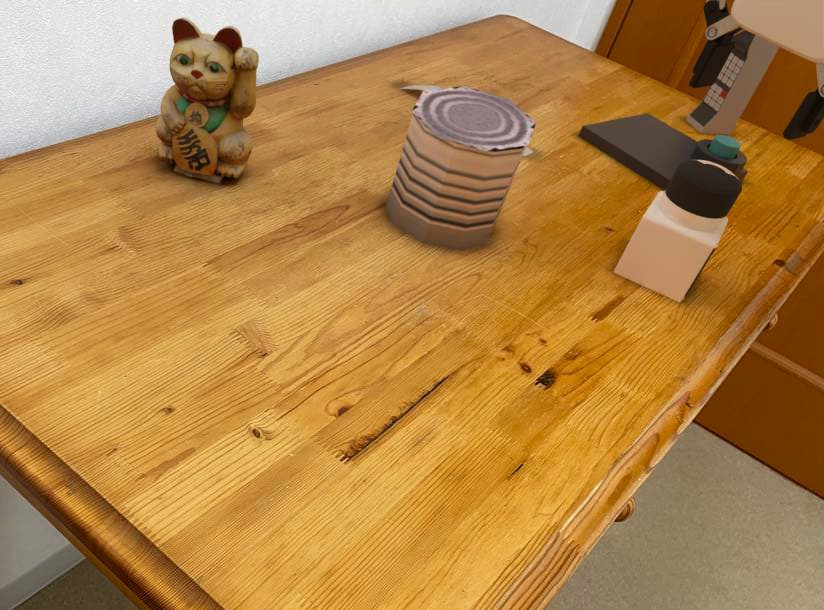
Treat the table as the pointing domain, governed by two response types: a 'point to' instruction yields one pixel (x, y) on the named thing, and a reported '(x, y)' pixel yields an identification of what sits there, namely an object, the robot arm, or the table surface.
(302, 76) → the table surface
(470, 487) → the table surface
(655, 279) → the medicine bottle
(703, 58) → the robot arm
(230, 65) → the decorative figurine
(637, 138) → the scale
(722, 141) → the button
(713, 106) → the vintage mobile phone
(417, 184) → the can
